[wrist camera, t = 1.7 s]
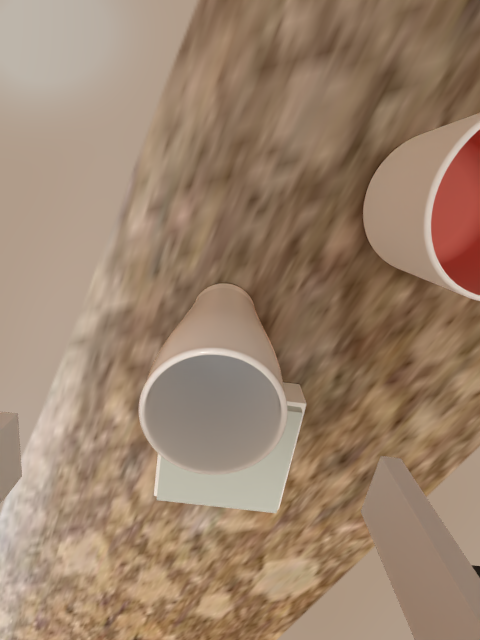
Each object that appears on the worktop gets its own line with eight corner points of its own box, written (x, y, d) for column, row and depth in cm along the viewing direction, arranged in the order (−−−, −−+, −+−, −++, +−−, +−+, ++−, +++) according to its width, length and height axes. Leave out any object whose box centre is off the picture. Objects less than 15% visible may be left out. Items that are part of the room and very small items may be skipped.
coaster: (299, 384, 31) (308, 409, 27) (275, 483, 35) (279, 516, 31) (171, 367, 30) (162, 390, 27) (161, 469, 34) (151, 502, 31)
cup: (468, 270, 28) (586, 305, 18) (349, 267, 28) (407, 301, 18) (502, 135, 25) (668, 94, 15) (367, 131, 24) (450, 87, 15)
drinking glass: (218, 361, 30) (203, 500, 16) (168, 305, 29) (102, 406, 14) (278, 318, 29) (320, 428, 15) (230, 256, 27) (225, 315, 13)
